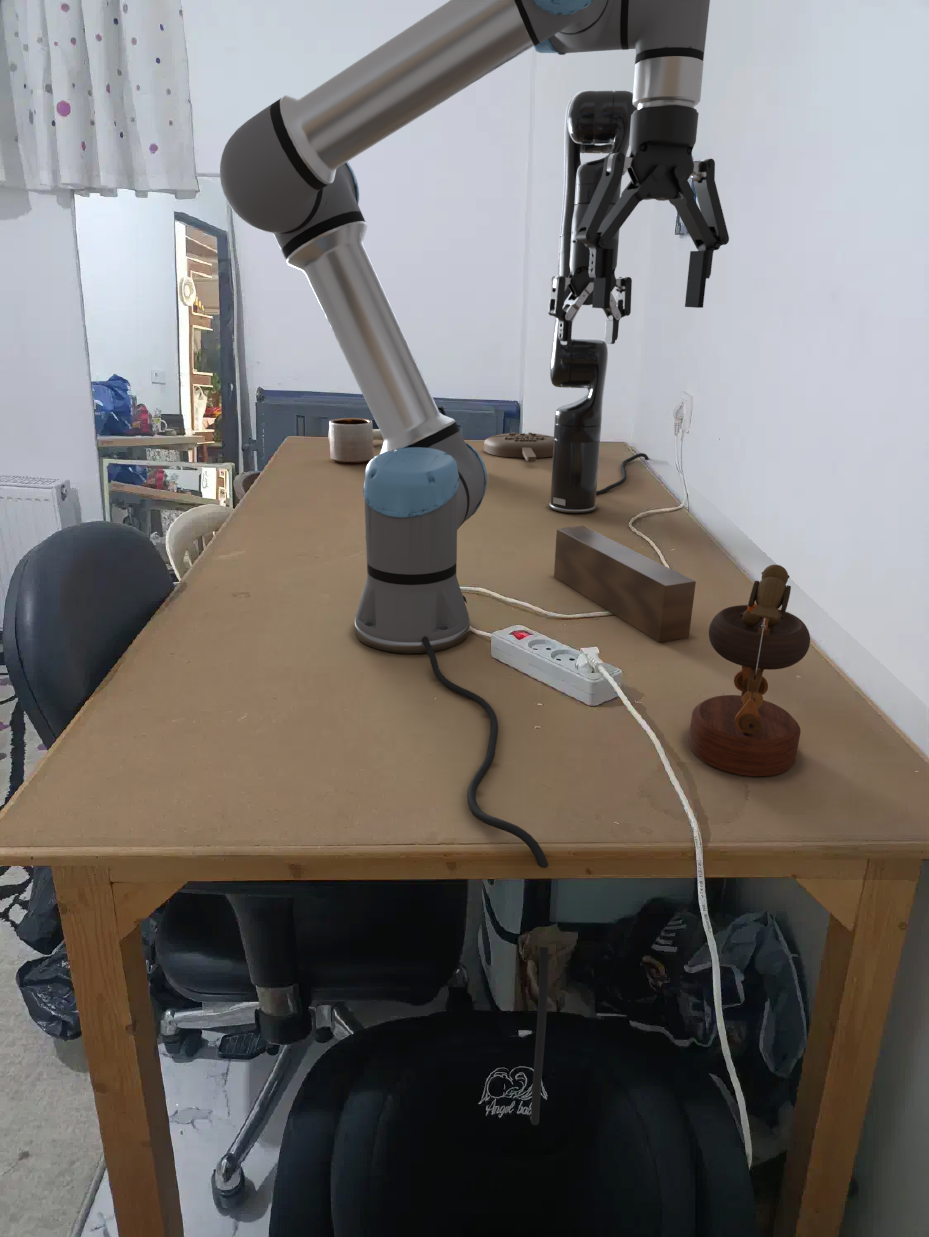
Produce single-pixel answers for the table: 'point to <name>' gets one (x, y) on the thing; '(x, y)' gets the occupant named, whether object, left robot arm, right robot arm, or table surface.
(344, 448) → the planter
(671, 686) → the table surface
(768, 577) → the brown wooden stacked piece
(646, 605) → the bar
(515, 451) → the ice cream bar
